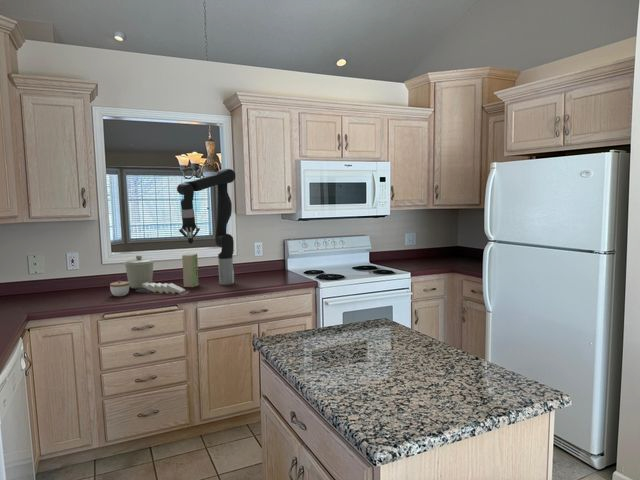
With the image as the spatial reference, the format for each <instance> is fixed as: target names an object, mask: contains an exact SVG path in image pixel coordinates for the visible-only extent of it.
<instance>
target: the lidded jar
mask: <svg viewBox="0 0 640 480" xmlns="http://www.w3.org/2000/svg"><path fill="white" fill-rule="evenodd" d="M109 289H110V292H111V294H112V295H113V296H115V297H123V296H127V294H129V291H130V286H129V282H128V280H127V281H121V280H120V279H119V280H118V281H115V282H111V283H110V284H109Z"/></svg>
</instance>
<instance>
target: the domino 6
mask: <svg viewBox="0 0 640 480" xmlns="http://www.w3.org/2000/svg"><path fill="white" fill-rule="evenodd" d="M167 284H168V285H167V286H166V287H167V288H169V289H171V290H173V291H175V292H177V293H179V294H182V293H184V292H185V291H186V289H185V288H184V287H181V286H178V285H177V284H175V283H167Z"/></svg>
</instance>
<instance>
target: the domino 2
mask: <svg viewBox="0 0 640 480" xmlns="http://www.w3.org/2000/svg"><path fill="white" fill-rule="evenodd" d="M148 284H150V283H148V282H146V283H143V284H142V287H144V288H146V289H148V290H150V291H152V292H154V293H156V292H158V291H156V290H154V289H152V288H150V287H148ZM144 288H143V289H144Z"/></svg>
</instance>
